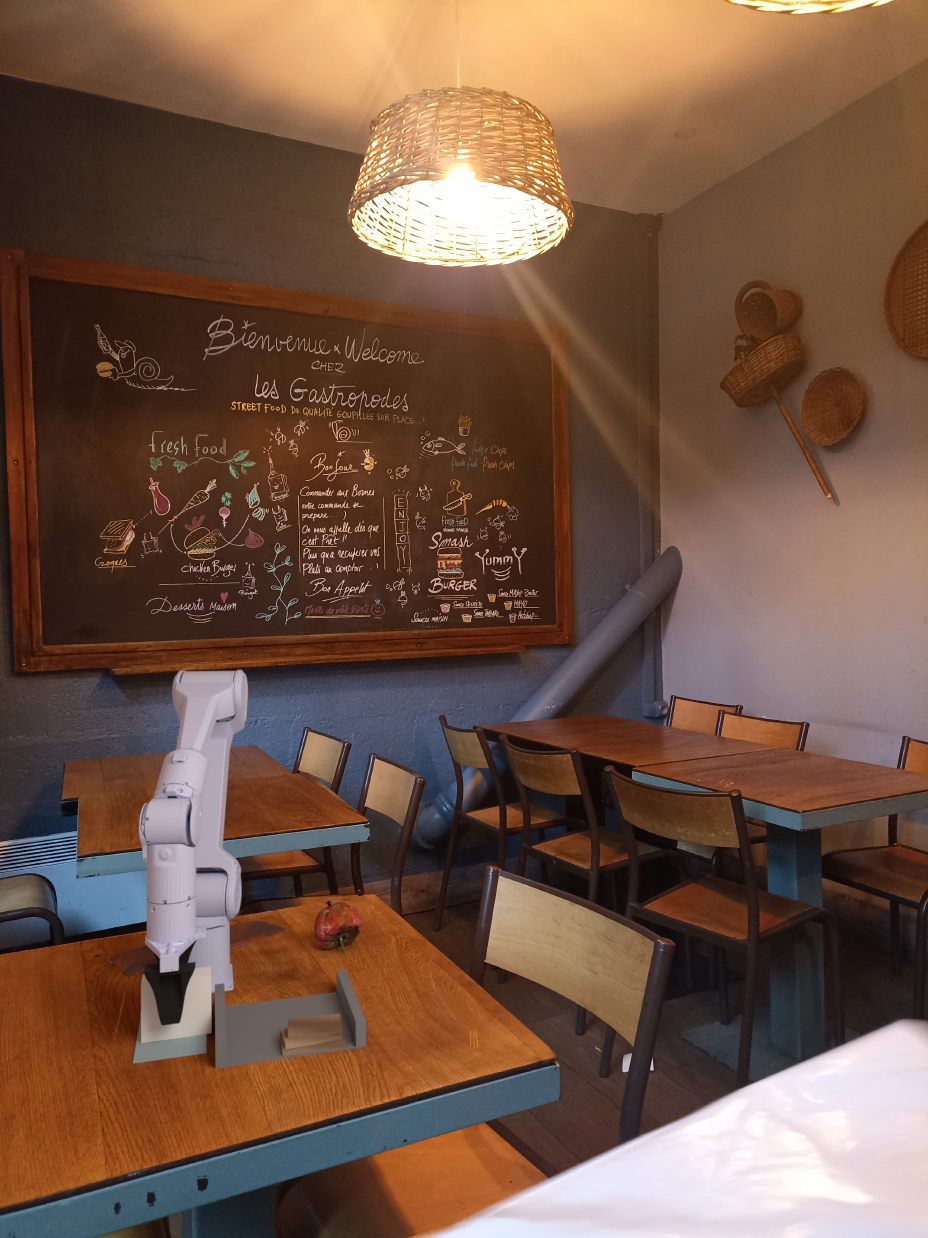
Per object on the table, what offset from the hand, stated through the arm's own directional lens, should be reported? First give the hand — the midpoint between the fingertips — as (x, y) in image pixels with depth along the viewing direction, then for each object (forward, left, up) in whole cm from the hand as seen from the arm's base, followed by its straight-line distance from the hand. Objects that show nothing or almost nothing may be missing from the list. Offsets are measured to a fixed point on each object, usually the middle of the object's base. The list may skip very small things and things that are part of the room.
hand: (172, 1009), depth 104 cm
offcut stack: (+8, +16, -3) cm, 18 cm away
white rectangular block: (0, +1, -3) cm, 3 cm away
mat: (0, 0, -3) cm, 3 cm away
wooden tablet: (-31, +3, -4) cm, 31 cm away
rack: (+2, +14, -3) cm, 14 cm away
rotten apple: (-23, +24, -4) cm, 33 cm away
